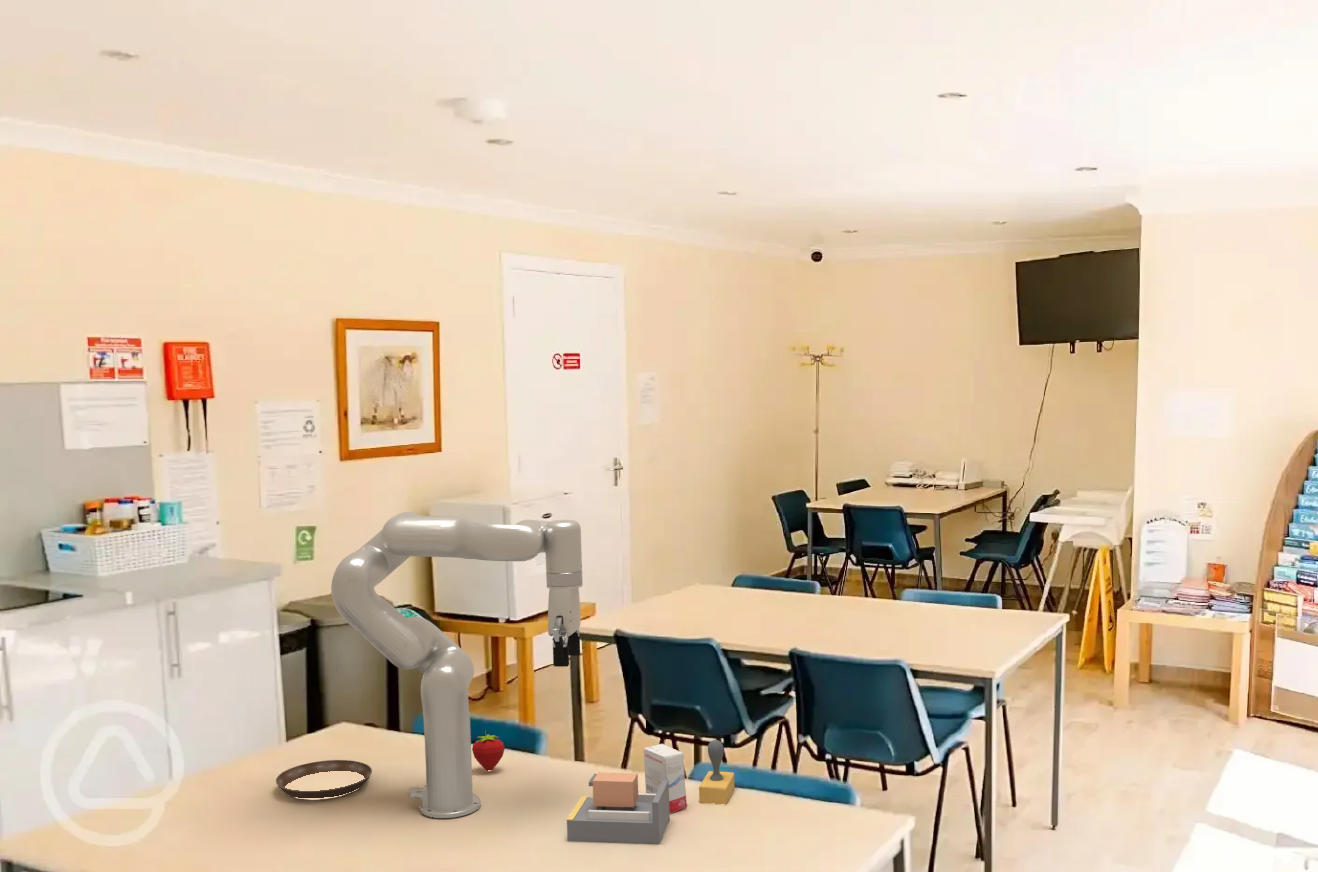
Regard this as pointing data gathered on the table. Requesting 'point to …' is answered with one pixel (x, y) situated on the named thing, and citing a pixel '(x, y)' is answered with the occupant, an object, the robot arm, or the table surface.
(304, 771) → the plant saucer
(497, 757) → the strawberry
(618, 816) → the loading dock
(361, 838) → the table surface
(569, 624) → the robot arm
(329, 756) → the table surface
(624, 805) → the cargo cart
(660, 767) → the ink box
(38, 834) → the table surface
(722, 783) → the rubber stamp
